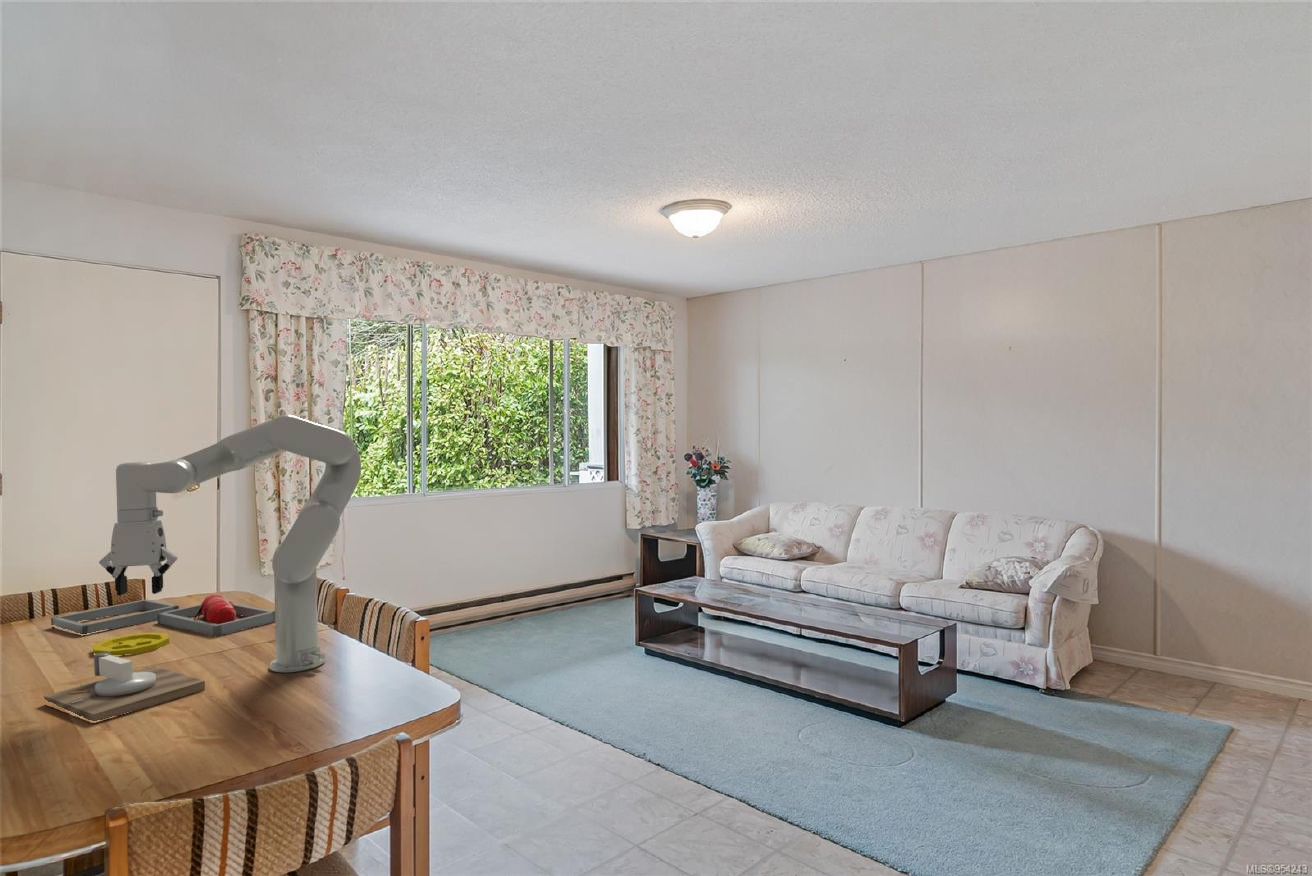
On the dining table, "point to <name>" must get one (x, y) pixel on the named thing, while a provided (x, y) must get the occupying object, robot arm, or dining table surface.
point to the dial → (119, 676)
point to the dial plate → (125, 696)
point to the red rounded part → (217, 609)
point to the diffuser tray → (138, 618)
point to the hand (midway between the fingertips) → (139, 592)
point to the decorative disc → (132, 643)
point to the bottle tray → (182, 621)
